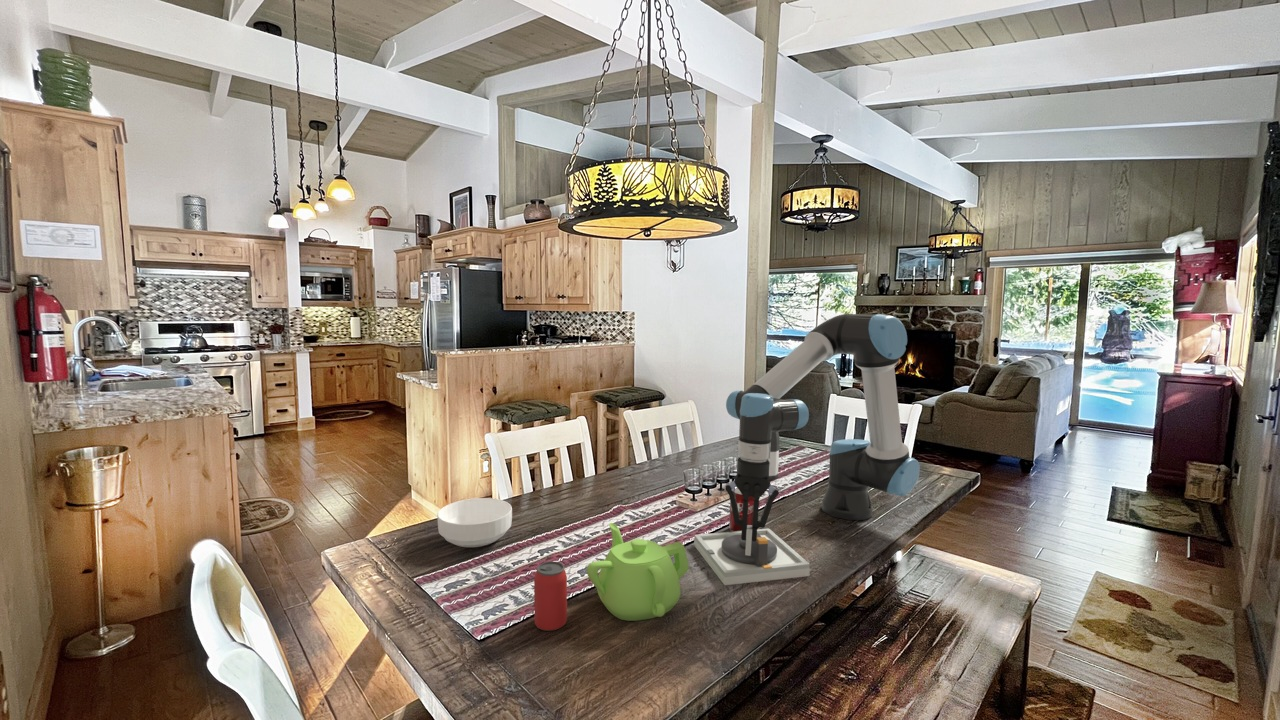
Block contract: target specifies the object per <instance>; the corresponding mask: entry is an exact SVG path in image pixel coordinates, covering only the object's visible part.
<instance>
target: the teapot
mask: <svg viewBox="0 0 1280 720" xmlns="http://www.w3.org/2000/svg"><path fill="white" fill-rule="evenodd" d="M608 525H609V529H610V531H611V537H612V543H611V548H610V550H609V551H608V553H607V554H606V557H605V559H604V560H596V561H592V562H590V563H589V564H588V565H587V566H586V572H587V577H588V579H589V580H590V582H591V583H592V584H593V585H594V587H595V588H596V591H597V595H598V597H599V599H600V601H601V603H602V604H603V605H604V607H605V608H606V609H607V610H608V612H609V613H610V614H611V615H613V616H614V617H615V618H617V619H619V620H623V621H627V622H631V621H632V622H635V621H636V622H637V621H646V620H651V619H654V618H657V617H658V618H660V617H661V618H662V617H663V616H665V614H667V613H668V612H670V611H671V610H673V608H674V607H675V606H676V604H677V603H678V601H679V600H680V597H681V584H680V579H681V578H683V577H684V575H685V574H686V573H687V572H688V571H690V565H689V562H688V557H687V553H686V548H685V545H684V544H683V543H682V542H680V541H675V542H673V543H669V544H667V545H664V546H661V545H660V544H658V542H655V541H654V540H648V539H643V538H636V539H635V538H634V539H632V540H631V541H626V542H624V540H623V536H622V534H621V531H620V529H619V527H618V526H617V525H616V524H615V523H613V522H610V523H609V524H608ZM671 556H674V562H673V561H672V558H671Z"/></svg>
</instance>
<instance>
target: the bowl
mask: <svg viewBox="0 0 1280 720" xmlns="http://www.w3.org/2000/svg"><path fill="white" fill-rule="evenodd" d="M436 516H437V529H438V533H439V535H440V536H441V537H443V538H444V539H445V541H447V542H448V543H450V544H452V545H455V546H458V547H460V548H461V547H462V548H480V547H483V546H484V547H485V546H488V545H491V544H492V543H495V542H497V541H498V540H499V539H501V538H502V537H503V536H504V535H505V534H506V533H507V532H508V530H509V529H511V527H512V520H513V508H512V504H510V503H509V502H507V501H505V500H502V499H498V498H491V497H479V498H478V497H475V498H467V499H462V500H457V501H454V502H451V503H449V504H446V505H444V506H443V507H441V508H440V509H439V510H438V512H437V515H436Z"/></svg>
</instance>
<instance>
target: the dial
mask: <svg viewBox="0 0 1280 720" xmlns="http://www.w3.org/2000/svg"><path fill="white" fill-rule="evenodd" d="M745 549H746V541H745V540H742V539H741V535H733V536H729V537H727V538H725V539H724V540H723V541H722V552H723V554H724V555H725V556H726V557H728V558H730V559H732V560H734V561H737V562H741V563H747V564H755V565H756V566H757V567H762V565H767V562H770V561H772V560H774V559H775V558H776V556H777V547H776V545H775V544H774V543H773V542H772V541H770V540H768V539H766V538H765V537H761V536H760V535H759V534H758V533H757V540H756V542H754V541H751V556H748V555H745Z"/></svg>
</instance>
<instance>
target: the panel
mask: <svg viewBox="0 0 1280 720" xmlns="http://www.w3.org/2000/svg"><path fill="white" fill-rule="evenodd" d="M757 533H758V534H759V535H760V536H761V537H765V538H766V539H768V540H770V541H772V542H773V543H774V544H775V545H776V547H777V556H776V558H775V559H774V560H772V561H770V562H767V565H762V567H757V566H756V565H755V564H747V563H741V562H737V561H734V560H732V559H730V558H728V557H726V556H725V555H724V554H723V552H722V541H723V540H724V539H725V538H727V537H729V536H733V535H741V534H742V531H734V532H732V531H726V532H725V531H724V532H714V533H703V534H694V538H693V539H694V543H693V546H694V548H696V551H698V553H699V554H700V555H701V556H702V558H703V559H704V560H705V561H706V563H707V564H708V565H709V567H710V568H711V569H712V571H713V572H714V574H715V575H716V576H717V577H718V578H719V580H720V581H721V583H722V584H723V585H724V586H729V585H731V586H732V585H740V584H749V583H757V582H767V581H777V580H784V579H785V580H786V579H794V578H795V579H796V578H802V577H810V571H811V570H810V568H811V567H810V566H811V564H810V563H809V562H808V561H807V560H806V559H805V558H803V557H802V556H801V555H800V554H799V553H798V552H797V551H796V550H794V549H793V548H792V547H791V546H789V544H788V543H786V542H785V541H784V540H783V539H782V538H781V537H780V536H778V535H777V534H776V533H775V532H774V531H773V530H772V529H770V528H758V529H757Z"/></svg>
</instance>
